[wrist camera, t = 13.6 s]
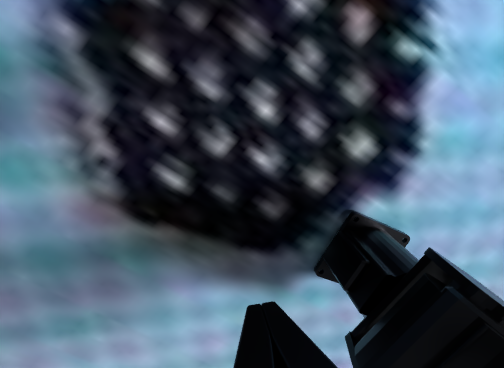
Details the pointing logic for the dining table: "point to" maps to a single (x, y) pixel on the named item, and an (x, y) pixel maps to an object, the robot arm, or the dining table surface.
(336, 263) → the robot arm
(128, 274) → the dining table surface
